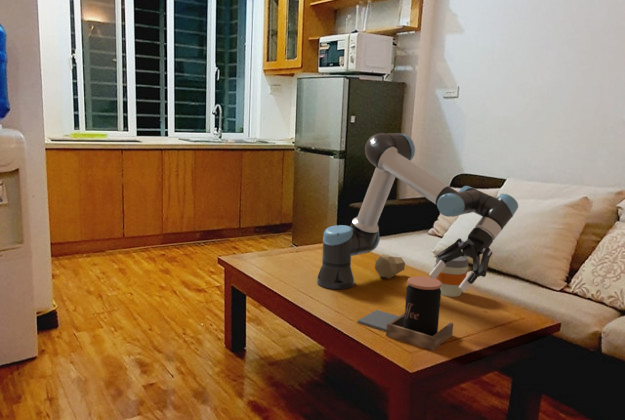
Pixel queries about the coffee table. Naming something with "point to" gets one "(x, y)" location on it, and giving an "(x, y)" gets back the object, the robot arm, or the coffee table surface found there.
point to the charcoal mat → (377, 319)
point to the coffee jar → (422, 305)
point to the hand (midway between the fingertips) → (445, 283)
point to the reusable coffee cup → (453, 276)
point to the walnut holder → (417, 334)
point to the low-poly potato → (389, 266)
